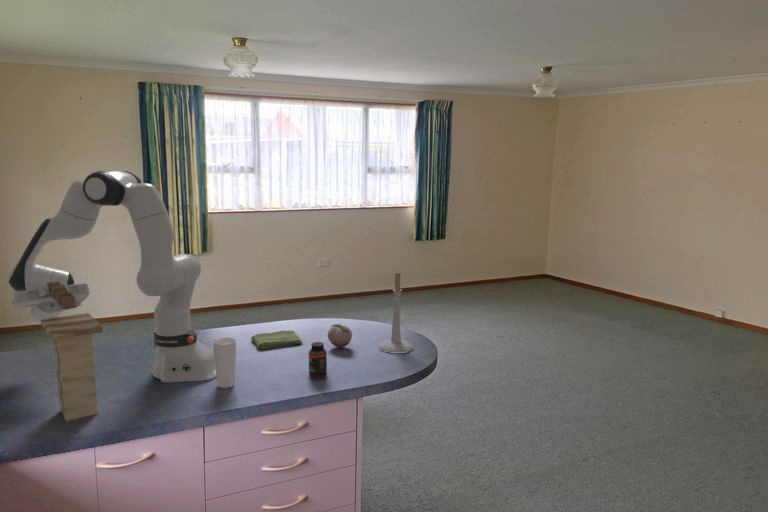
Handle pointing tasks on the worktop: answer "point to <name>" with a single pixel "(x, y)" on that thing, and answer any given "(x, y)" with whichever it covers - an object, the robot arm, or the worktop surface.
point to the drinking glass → (225, 361)
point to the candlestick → (396, 325)
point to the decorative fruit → (339, 335)
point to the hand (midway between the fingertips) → (55, 287)
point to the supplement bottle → (317, 361)
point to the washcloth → (276, 339)
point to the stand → (74, 363)
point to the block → (61, 295)
